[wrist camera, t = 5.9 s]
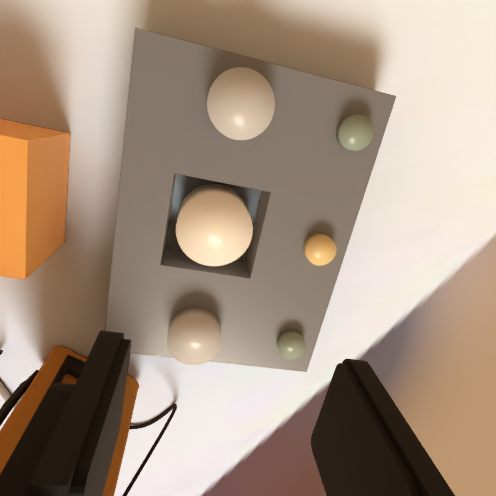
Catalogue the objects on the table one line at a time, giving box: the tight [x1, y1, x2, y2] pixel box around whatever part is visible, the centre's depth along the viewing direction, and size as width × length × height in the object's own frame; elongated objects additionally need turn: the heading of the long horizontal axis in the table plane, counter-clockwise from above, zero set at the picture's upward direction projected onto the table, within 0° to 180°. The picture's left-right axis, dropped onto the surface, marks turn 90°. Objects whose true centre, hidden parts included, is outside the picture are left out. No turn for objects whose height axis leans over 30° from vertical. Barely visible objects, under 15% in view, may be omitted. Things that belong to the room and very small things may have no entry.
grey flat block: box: [105, 28, 396, 372], centre depth 24 cm, size 20×15×4 cm
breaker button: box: [176, 184, 253, 266], centre depth 24 cm, size 5×5×3 cm
